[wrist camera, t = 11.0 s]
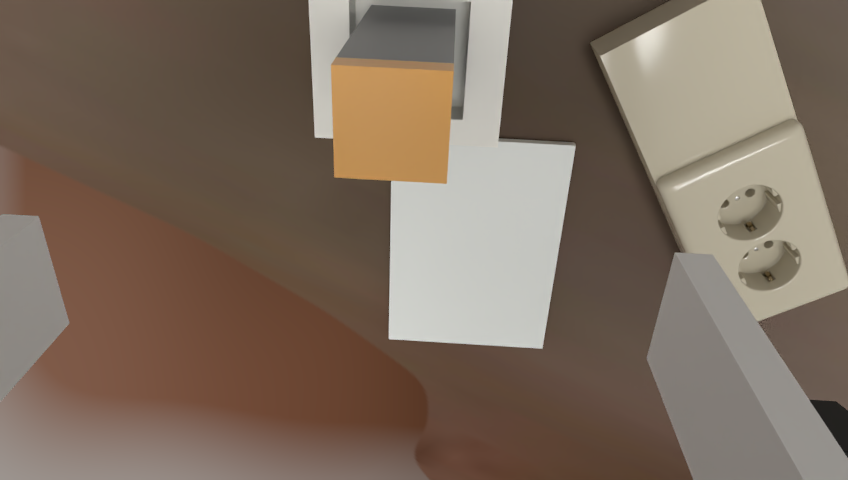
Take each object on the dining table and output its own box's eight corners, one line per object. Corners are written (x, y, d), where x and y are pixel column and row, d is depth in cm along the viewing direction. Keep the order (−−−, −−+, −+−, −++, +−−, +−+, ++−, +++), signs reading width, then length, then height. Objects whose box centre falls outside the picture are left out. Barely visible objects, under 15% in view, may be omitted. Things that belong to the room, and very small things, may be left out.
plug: (450, 92, 33) (446, 183, 23) (371, 88, 33) (334, 177, 23) (456, 9, 31) (453, 71, 21) (371, 4, 31) (330, 64, 21)
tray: (541, 343, 43) (542, 348, 42) (389, 334, 43) (388, 339, 42) (574, 142, 36) (575, 145, 35) (392, 132, 36) (391, 135, 35)
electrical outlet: (762, -21, 28) (855, 289, 35) (728, -33, 31) (818, 251, 39) (604, 61, 30) (723, 338, 37) (588, 41, 33) (700, 297, 41)
